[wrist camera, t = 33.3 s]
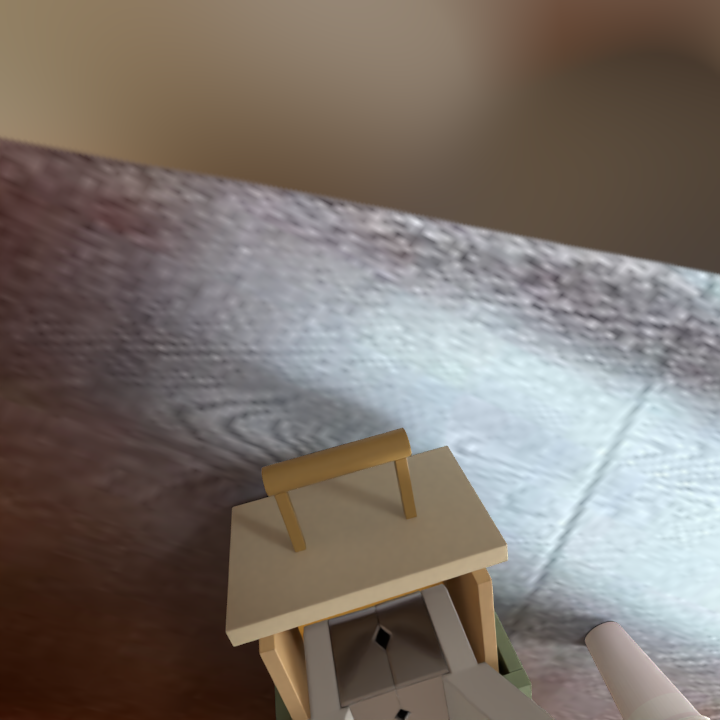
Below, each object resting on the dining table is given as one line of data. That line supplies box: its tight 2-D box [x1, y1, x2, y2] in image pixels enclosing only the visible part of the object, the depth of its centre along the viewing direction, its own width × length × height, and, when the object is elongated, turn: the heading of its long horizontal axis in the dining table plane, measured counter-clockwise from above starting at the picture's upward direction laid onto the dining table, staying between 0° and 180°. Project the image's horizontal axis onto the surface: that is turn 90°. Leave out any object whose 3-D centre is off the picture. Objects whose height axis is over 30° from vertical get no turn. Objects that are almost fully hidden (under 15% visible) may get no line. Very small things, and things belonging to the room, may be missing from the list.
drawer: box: [226, 428, 508, 720], centre depth 28 cm, size 21×14×8 cm, turn 11°
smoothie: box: [585, 622, 710, 720], centre depth 39 cm, size 6×6×14 cm
